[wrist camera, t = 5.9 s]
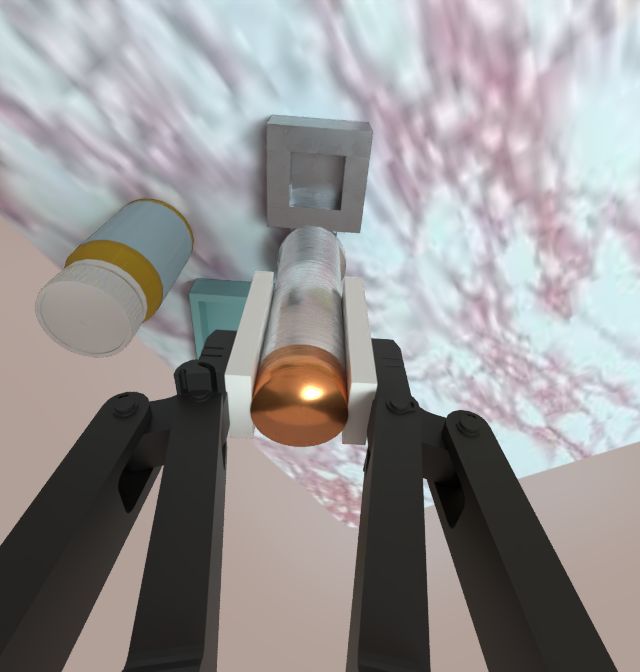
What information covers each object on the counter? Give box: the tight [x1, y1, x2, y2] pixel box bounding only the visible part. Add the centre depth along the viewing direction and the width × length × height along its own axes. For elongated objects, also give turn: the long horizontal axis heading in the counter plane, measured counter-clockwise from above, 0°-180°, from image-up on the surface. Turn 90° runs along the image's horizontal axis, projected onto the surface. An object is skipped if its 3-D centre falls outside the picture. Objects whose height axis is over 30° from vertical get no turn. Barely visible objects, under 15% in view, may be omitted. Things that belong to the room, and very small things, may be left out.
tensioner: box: [267, 115, 373, 281], centre depth 36 cm, size 14×8×5 cm, turn 176°
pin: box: [250, 226, 348, 447], centre depth 18 cm, size 3×3×12 cm
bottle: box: [35, 199, 193, 357], centre depth 34 cm, size 7×7×15 cm
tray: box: [189, 279, 275, 359], centre depth 45 cm, size 11×11×3 cm
